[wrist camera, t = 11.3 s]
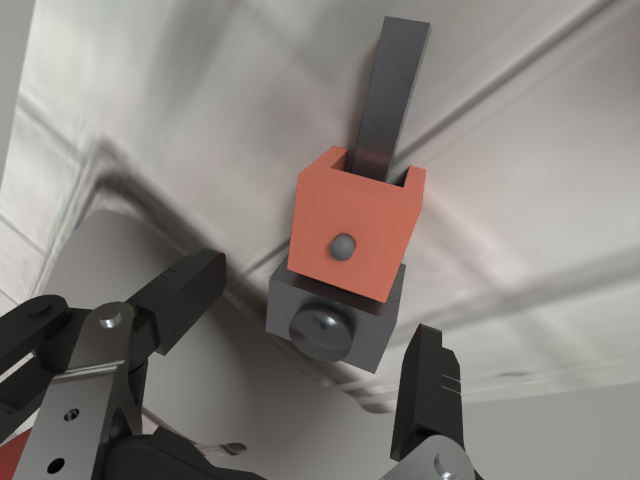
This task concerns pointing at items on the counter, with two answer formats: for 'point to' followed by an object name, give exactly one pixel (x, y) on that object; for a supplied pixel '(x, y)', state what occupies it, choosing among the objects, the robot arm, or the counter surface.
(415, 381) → the robot arm
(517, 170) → the counter surface
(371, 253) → the notched red block
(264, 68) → the counter surface
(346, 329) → the coupler
